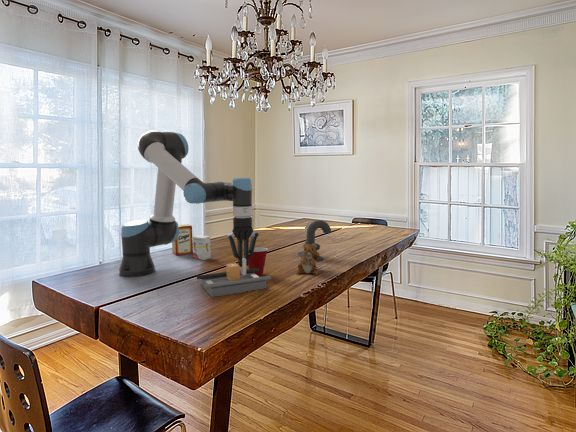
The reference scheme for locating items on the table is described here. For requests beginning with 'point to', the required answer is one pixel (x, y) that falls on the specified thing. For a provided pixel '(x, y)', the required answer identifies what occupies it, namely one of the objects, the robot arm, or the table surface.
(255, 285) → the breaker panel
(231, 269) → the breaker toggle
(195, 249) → the ink box
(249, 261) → the plastic cup
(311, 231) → the faucet
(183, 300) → the table surface
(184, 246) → the orange cardboard box
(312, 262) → the stuffed squirrel
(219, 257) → the table surface
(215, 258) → the table surface
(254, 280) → the grey tray
